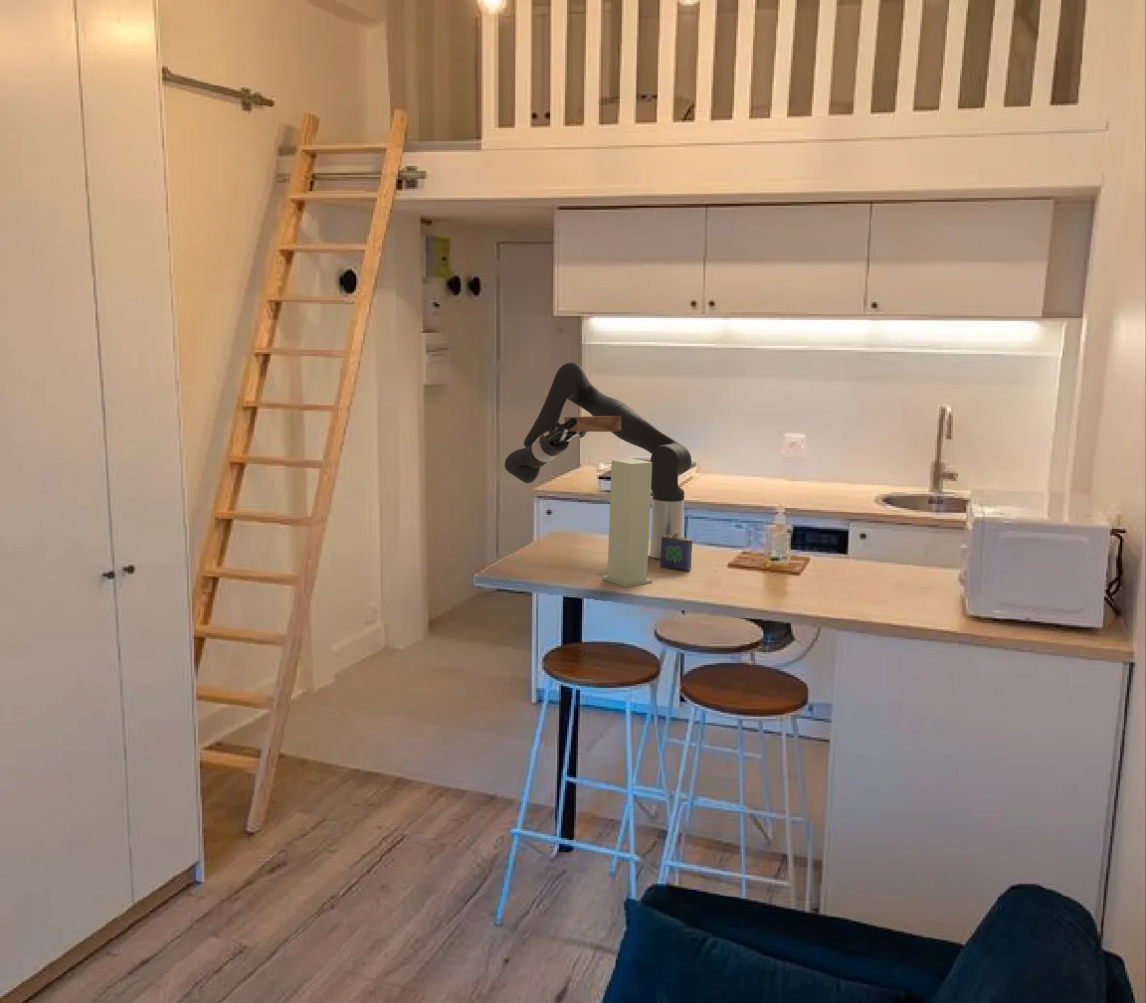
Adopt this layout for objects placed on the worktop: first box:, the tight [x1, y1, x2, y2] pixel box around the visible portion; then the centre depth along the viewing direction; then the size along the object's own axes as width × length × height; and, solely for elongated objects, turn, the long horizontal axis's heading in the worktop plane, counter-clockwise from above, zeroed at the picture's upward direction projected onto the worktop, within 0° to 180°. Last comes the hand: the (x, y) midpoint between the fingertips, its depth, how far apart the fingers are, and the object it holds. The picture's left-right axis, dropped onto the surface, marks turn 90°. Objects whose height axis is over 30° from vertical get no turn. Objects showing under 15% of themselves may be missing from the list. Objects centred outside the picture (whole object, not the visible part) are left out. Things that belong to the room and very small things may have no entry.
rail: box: [563, 415, 621, 433], centre depth 275 cm, size 4×20×4 cm, turn 37°
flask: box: [659, 532, 693, 572], centre depth 283 cm, size 9×3×11 cm, turn 60°
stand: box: [601, 458, 653, 588], centre depth 266 cm, size 9×10×32 cm
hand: (581, 419), depth 279 cm, fingers closed on rail, 4 cm apart
